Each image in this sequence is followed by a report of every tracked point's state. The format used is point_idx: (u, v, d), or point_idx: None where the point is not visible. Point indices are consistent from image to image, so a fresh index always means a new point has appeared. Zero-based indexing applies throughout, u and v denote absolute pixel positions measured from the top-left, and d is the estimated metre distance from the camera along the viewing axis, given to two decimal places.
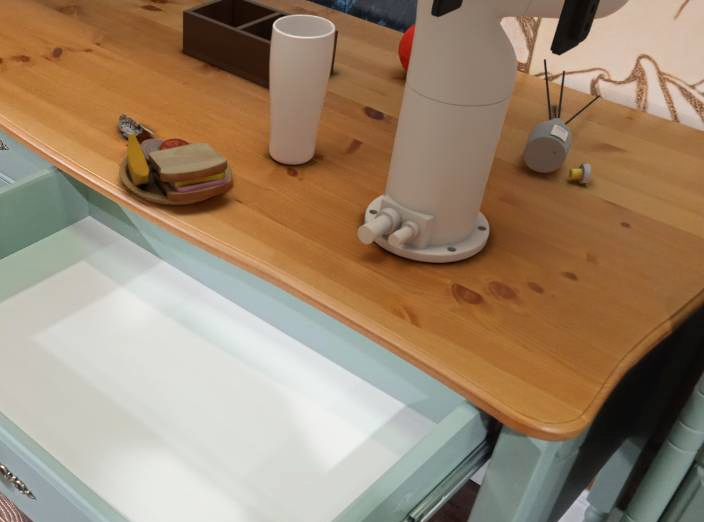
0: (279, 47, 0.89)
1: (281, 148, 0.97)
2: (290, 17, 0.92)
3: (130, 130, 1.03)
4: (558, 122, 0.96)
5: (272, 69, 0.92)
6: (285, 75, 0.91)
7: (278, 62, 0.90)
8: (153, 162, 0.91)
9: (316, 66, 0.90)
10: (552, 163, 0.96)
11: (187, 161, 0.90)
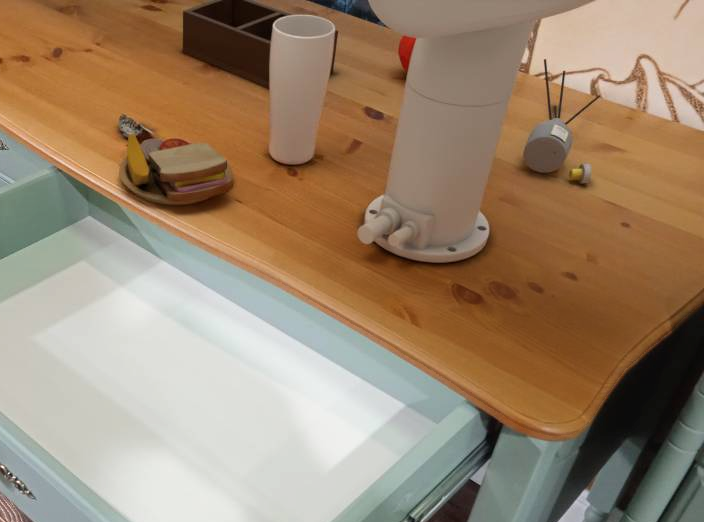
0: (279, 47, 0.89)
1: (281, 148, 0.97)
2: (289, 17, 0.92)
3: (130, 130, 1.03)
4: (558, 122, 0.96)
5: (271, 69, 0.92)
6: (285, 75, 0.91)
7: (278, 62, 0.90)
8: (153, 162, 0.91)
9: (316, 66, 0.90)
10: (552, 163, 0.96)
11: (187, 161, 0.90)
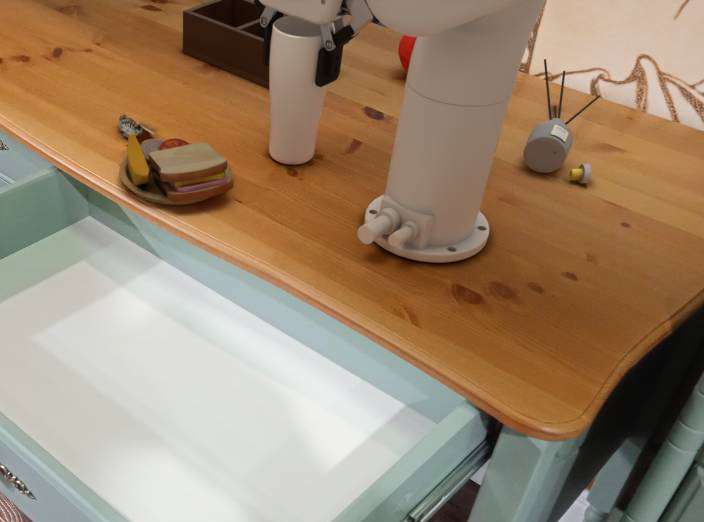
0: (279, 47, 0.89)
1: (281, 148, 0.97)
2: (289, 17, 0.92)
3: (130, 130, 1.03)
4: (558, 122, 0.96)
5: (271, 69, 0.92)
6: (285, 75, 0.91)
7: (278, 62, 0.90)
8: (153, 162, 0.91)
9: (316, 66, 0.90)
10: (553, 163, 0.96)
11: (187, 161, 0.90)
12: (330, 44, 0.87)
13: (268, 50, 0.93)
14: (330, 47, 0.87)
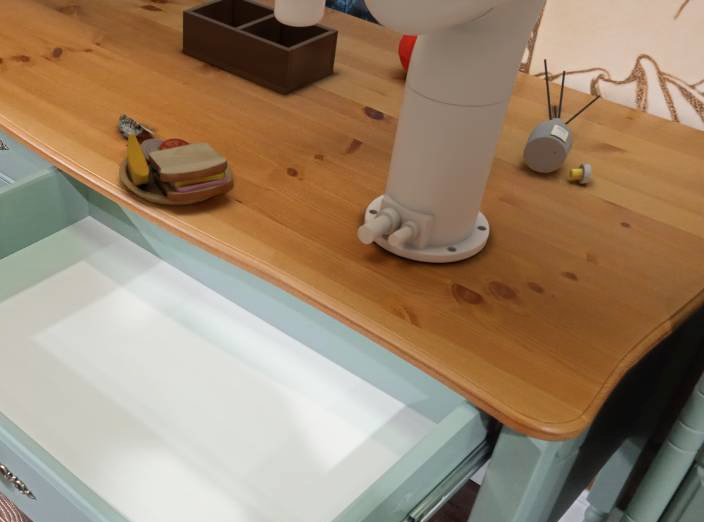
0: None
1: (288, 6, 0.88)
2: None
3: (130, 130, 1.03)
4: (558, 122, 0.96)
5: None
6: None
7: None
8: (153, 162, 0.91)
9: None
10: (553, 163, 0.96)
11: (187, 161, 0.90)
12: None
13: None
14: None
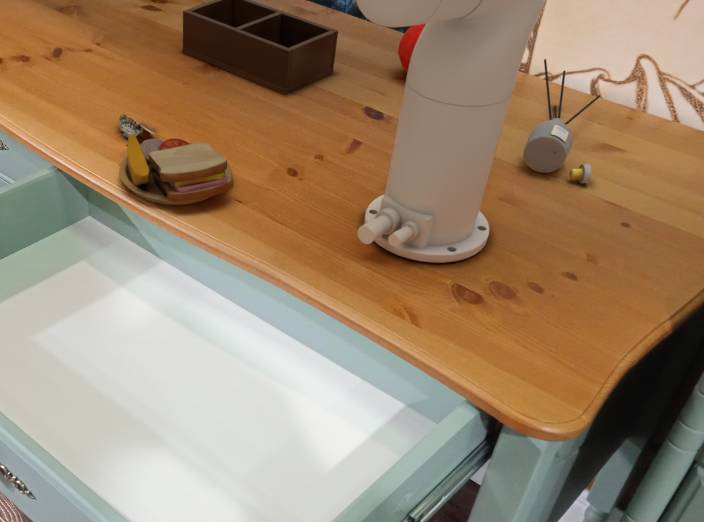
0: None
1: None
2: None
3: (130, 130, 1.03)
4: (558, 122, 0.96)
5: None
6: None
7: None
8: (153, 162, 0.91)
9: None
10: (553, 163, 0.96)
11: (187, 161, 0.90)
12: None
13: None
14: None
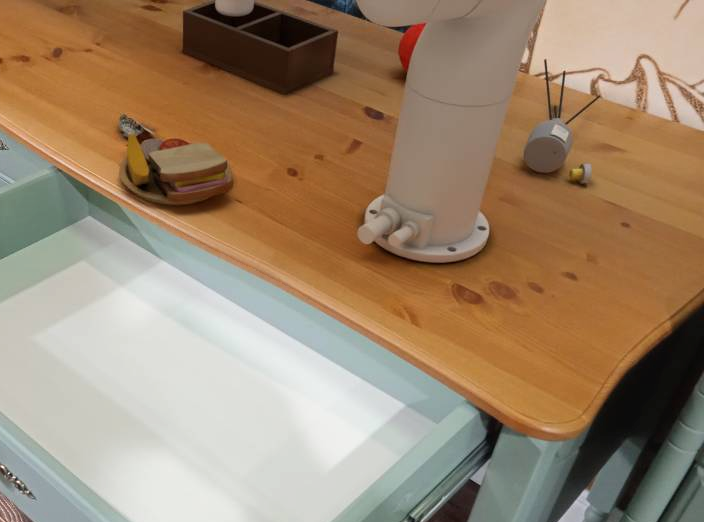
0: None
1: (224, 1, 1.15)
2: None
3: (130, 130, 1.03)
4: (558, 122, 0.96)
5: None
6: None
7: None
8: (153, 162, 0.91)
9: None
10: (553, 163, 0.96)
11: (187, 161, 0.90)
12: None
13: None
14: None
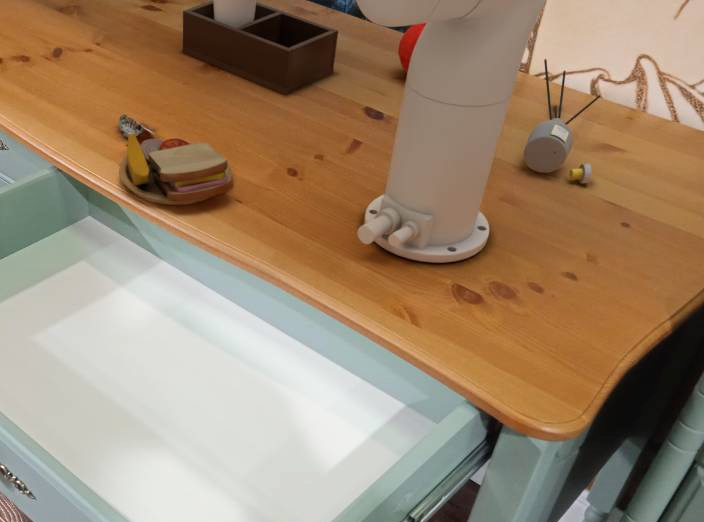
0: None
1: None
2: None
3: (130, 130, 1.03)
4: (558, 122, 0.96)
5: None
6: None
7: None
8: (153, 162, 0.91)
9: None
10: (553, 163, 0.96)
11: (187, 161, 0.90)
12: None
13: None
14: None
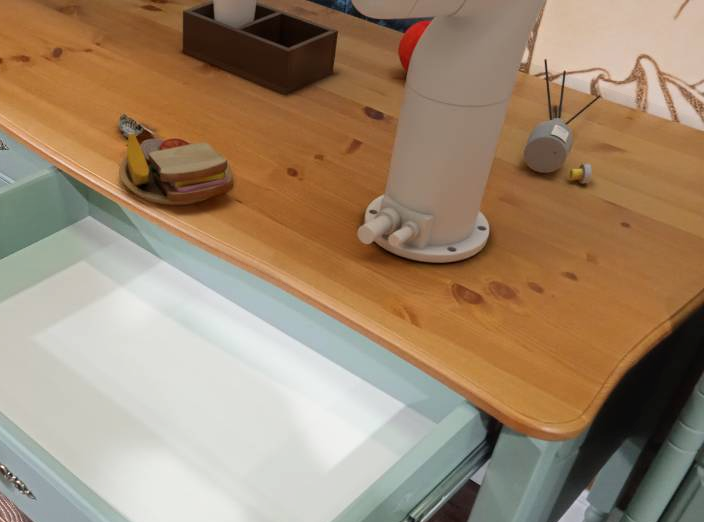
0: None
1: None
2: None
3: (130, 130, 1.03)
4: (559, 122, 0.96)
5: None
6: None
7: None
8: (153, 162, 0.91)
9: None
10: (553, 163, 0.96)
11: (187, 161, 0.90)
12: None
13: None
14: None
